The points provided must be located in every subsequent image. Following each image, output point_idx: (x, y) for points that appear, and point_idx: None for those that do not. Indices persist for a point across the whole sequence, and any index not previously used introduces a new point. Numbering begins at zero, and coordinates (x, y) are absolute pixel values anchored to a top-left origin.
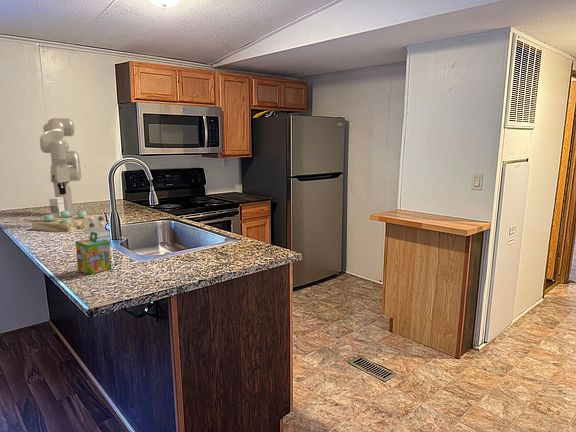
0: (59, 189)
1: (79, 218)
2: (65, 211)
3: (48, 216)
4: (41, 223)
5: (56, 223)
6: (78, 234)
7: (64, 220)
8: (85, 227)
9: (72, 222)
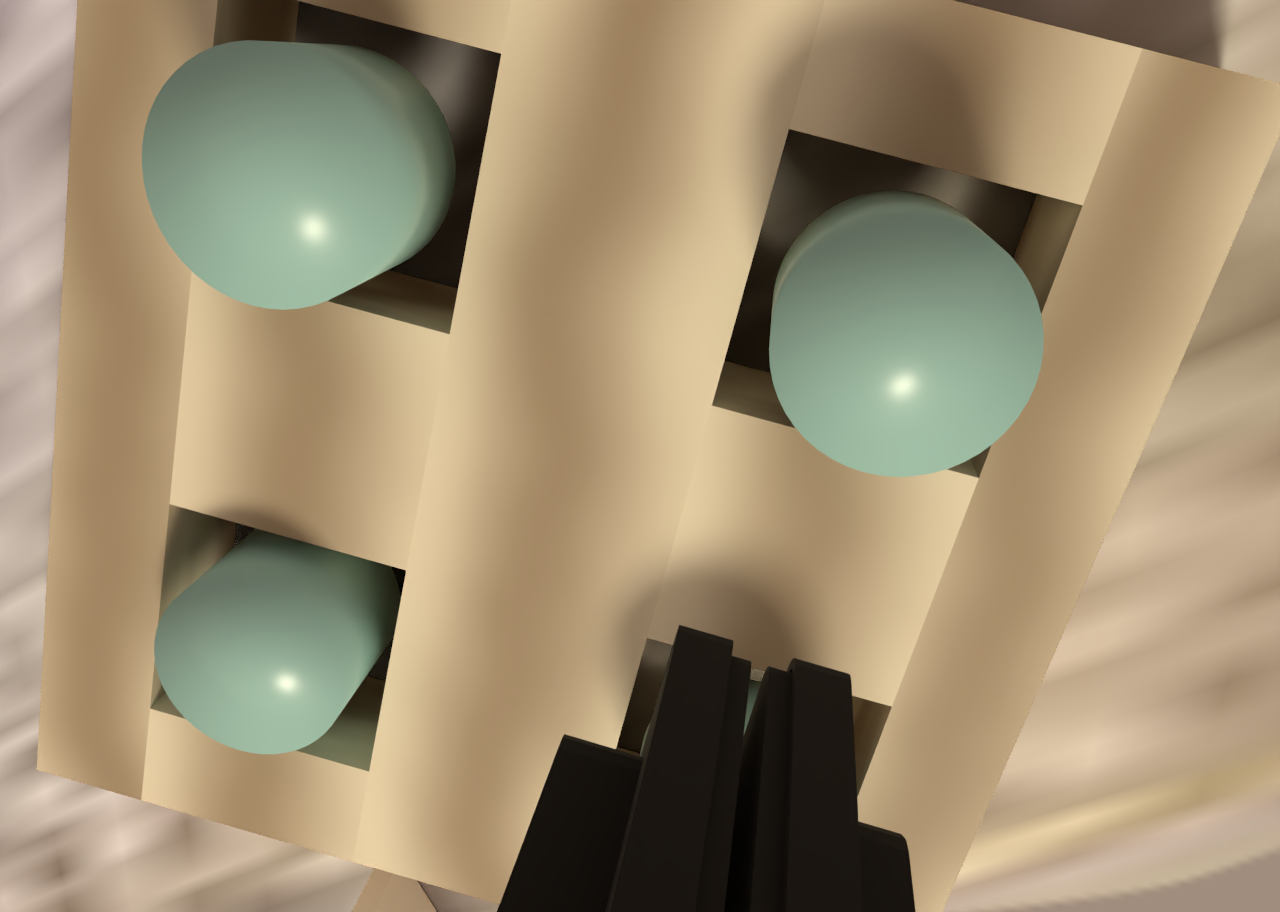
0: (504, 901)
1: (640, 756)
2: (891, 378)
3: (184, 244)
4: (73, 132)
5: (116, 502)
6: (3, 907)
7: (181, 662)
8: (367, 885)
9: (250, 772)
